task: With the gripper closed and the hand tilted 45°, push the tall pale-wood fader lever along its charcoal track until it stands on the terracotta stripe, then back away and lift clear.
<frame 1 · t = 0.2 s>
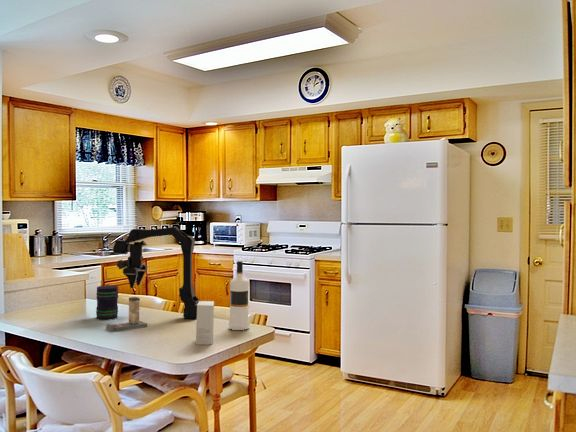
hand: (134, 286, 239), 15 cm above the table, tool pointing down, fingers open, 9 cm apart
skincare box: (205, 342, 194), on the table
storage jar: (107, 318, 236), on the table
vodka: (238, 329, 217), on the table
fader track: (126, 327, 216), on the table
fader lever: (134, 310, 218), point 7 cm above the table, slide at -3.5 cm
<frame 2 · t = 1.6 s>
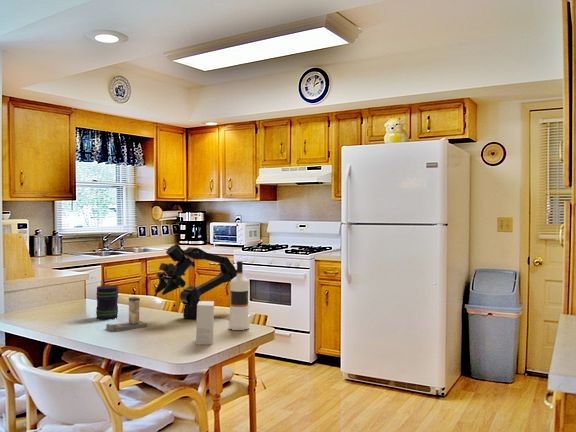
hand: (159, 293, 227), 14 cm above the table, tool tilted 45°, fingers open, 6 cm apart
nothing on the table moved.
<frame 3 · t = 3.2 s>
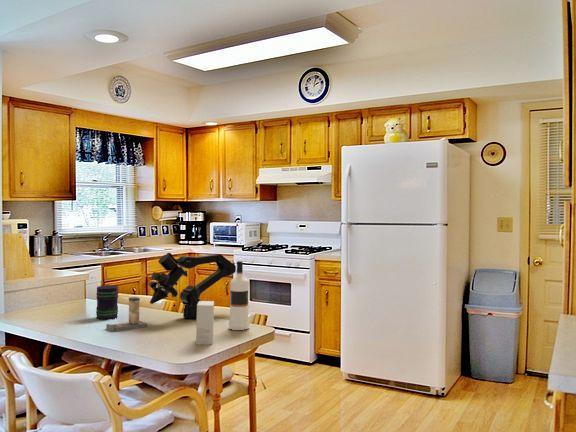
hand: (150, 303, 224), 10 cm above the table, tool tilted 45°, fingers closed
nothing on the table moved.
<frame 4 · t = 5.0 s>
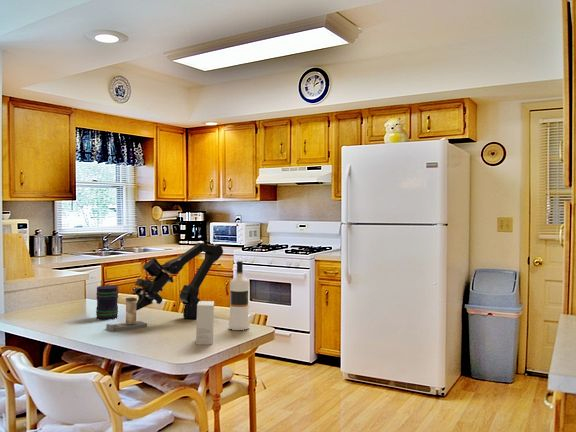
hand: (134, 310, 219), 7 cm above the table, tool tilted 45°, fingers closed, pressing on fader lever
fader lever: (131, 310, 217), point 7 cm above the table, slide at -2.1 cm, touching gripper
everything else where it was.
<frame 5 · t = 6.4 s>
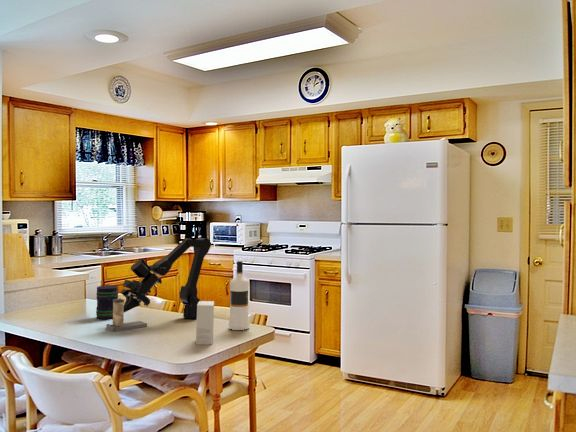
hand: (122, 312, 215), 7 cm above the table, tool tilted 45°, fingers closed, pressing on fader lever
fader lever: (118, 312, 213), point 7 cm above the table, slide at 3.8 cm, touching gripper
everything else where it was.
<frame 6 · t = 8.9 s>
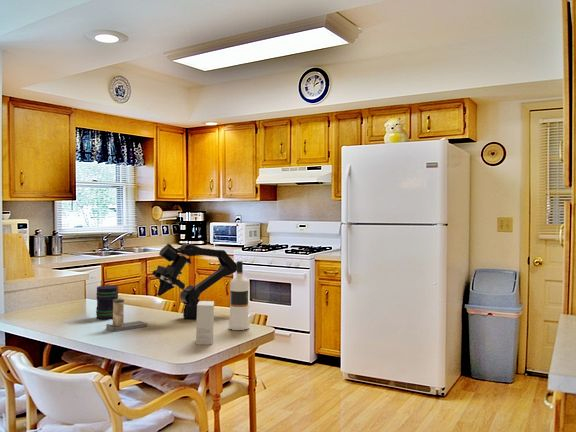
hand: (158, 295, 228), 12 cm above the table, tool tilted 35°, fingers closed
fader lever: (118, 312, 213), point 7 cm above the table, slide at 3.8 cm
everything else where it was.
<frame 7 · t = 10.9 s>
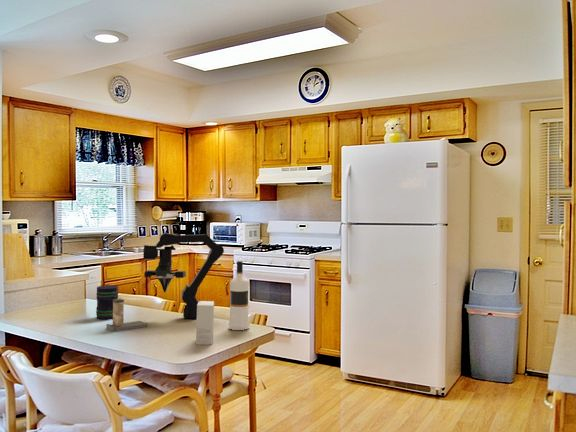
hand: (165, 292, 235), 13 cm above the table, tool pointing down, fingers closed
nothing on the table moved.
at the end: fader lever slide at 3.8 cm; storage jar moved 0.2 cm from its start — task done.
